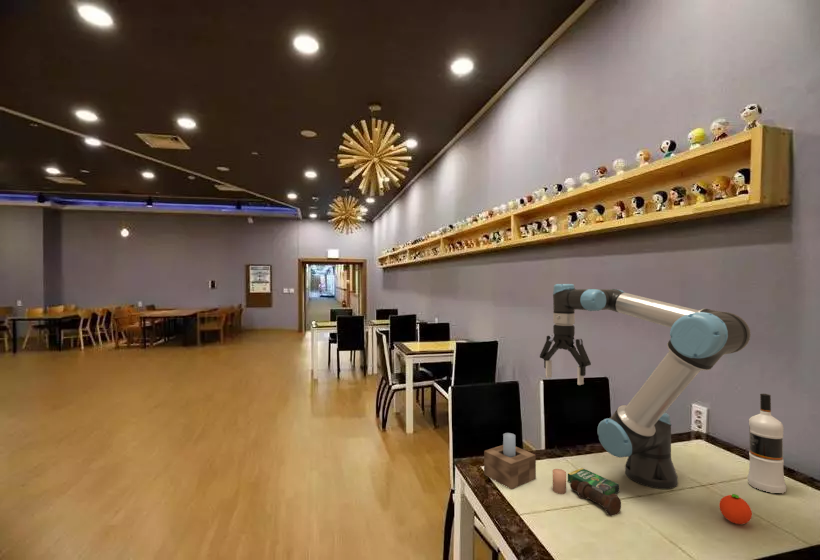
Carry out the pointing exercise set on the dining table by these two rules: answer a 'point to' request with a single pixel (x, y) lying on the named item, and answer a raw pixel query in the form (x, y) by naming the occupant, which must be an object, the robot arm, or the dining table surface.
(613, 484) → the coffee box
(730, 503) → the clementine
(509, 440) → the long dowel
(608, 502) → the bolt
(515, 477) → the hole block
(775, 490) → the vodka
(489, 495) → the dining table surface
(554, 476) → the short dowel
